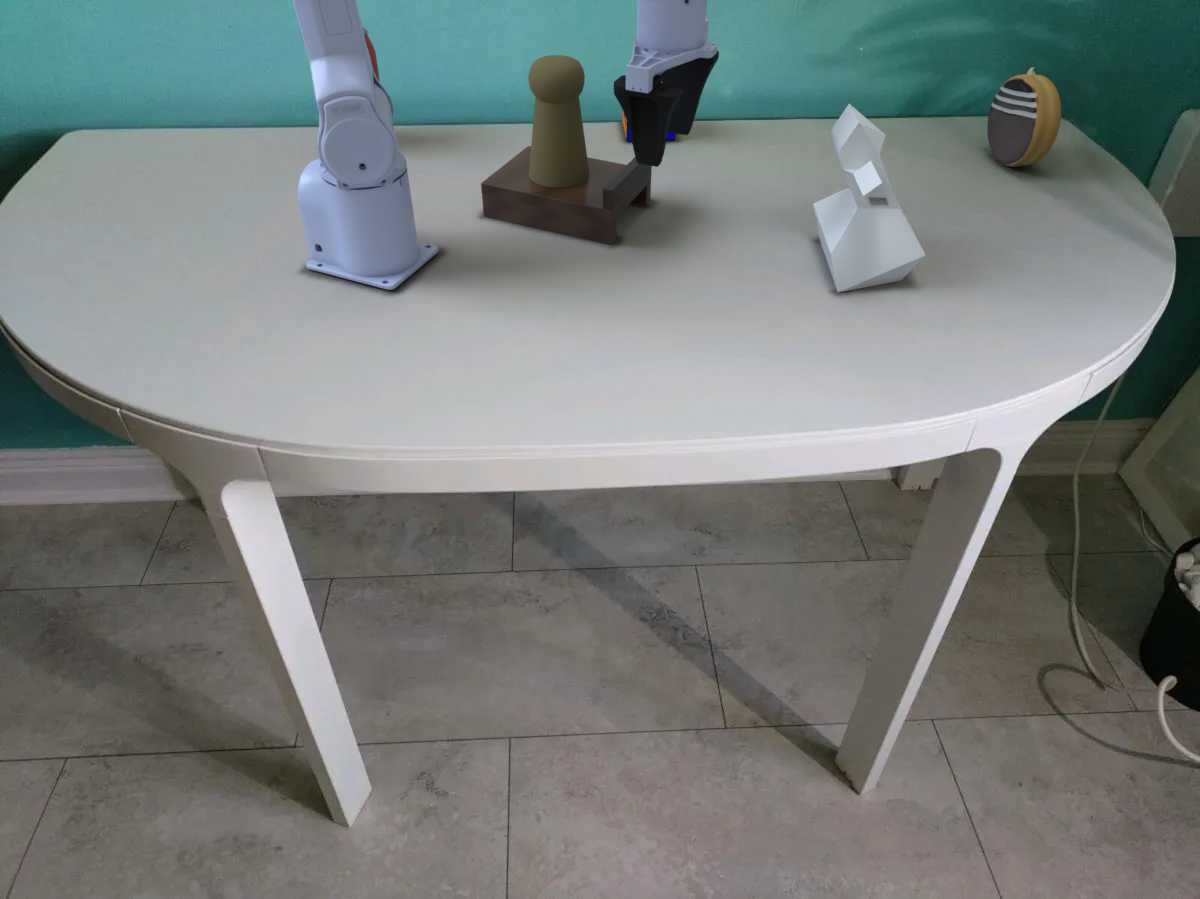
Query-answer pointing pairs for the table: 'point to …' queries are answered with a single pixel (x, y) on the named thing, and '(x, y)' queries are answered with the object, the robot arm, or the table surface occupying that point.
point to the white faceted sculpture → (864, 213)
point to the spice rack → (567, 197)
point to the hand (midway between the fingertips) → (663, 147)
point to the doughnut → (1024, 119)
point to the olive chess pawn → (557, 123)
